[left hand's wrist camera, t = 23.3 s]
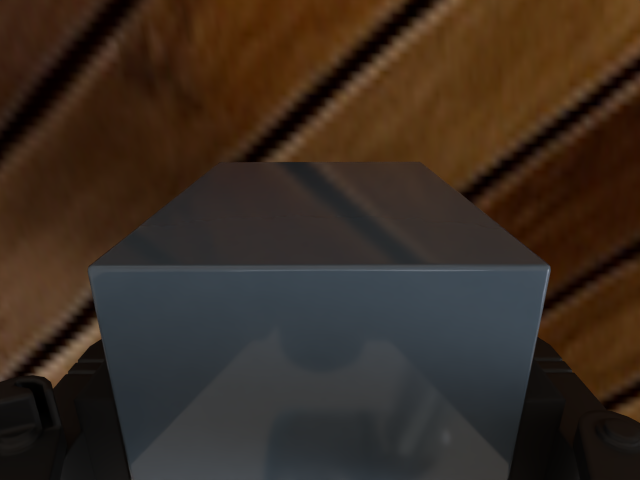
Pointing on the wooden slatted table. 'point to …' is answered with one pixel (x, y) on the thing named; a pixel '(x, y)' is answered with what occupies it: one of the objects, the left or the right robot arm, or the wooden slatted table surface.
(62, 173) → the wooden slatted table surface
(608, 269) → the wooden slatted table surface
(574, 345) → the wooden slatted table surface
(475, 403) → the brick
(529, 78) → the wooden slatted table surface
